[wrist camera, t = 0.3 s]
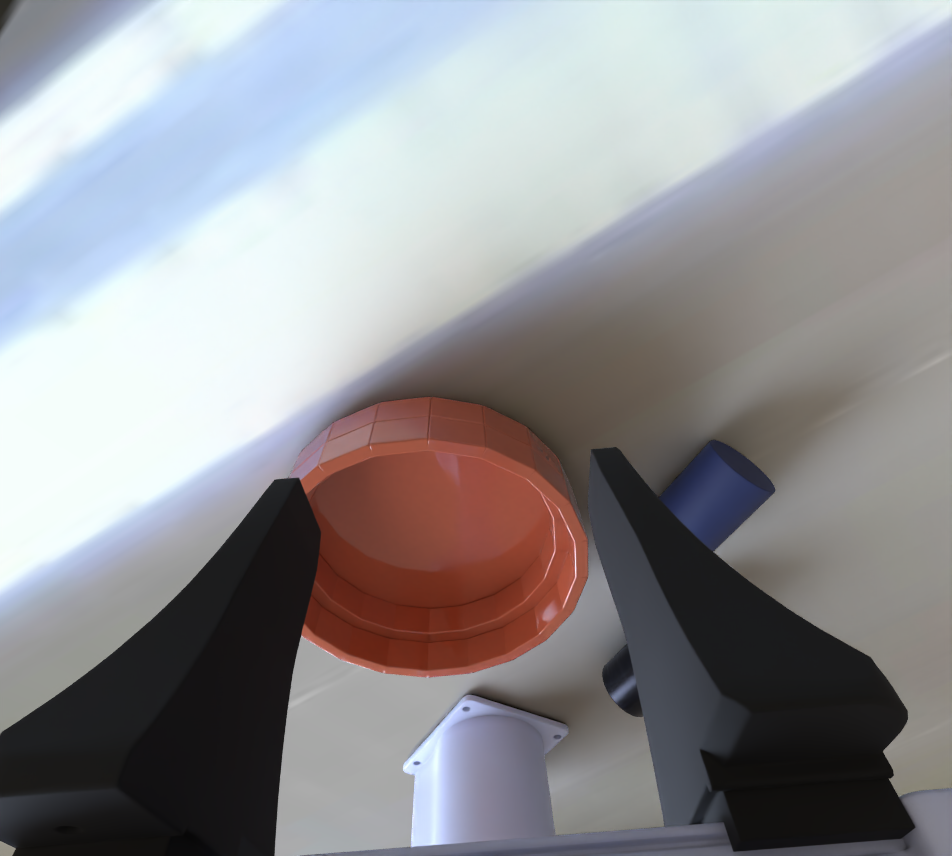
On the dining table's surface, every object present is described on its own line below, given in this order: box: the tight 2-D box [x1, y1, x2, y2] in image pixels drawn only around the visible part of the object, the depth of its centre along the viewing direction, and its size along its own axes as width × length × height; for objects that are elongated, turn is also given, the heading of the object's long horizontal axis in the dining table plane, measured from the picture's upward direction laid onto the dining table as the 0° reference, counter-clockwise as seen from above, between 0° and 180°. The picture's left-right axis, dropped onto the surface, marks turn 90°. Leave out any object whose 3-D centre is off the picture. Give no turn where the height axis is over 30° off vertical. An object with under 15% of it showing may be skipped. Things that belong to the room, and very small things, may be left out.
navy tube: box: [659, 440, 775, 551], centre depth 26 cm, size 7×3×3 cm, turn 150°
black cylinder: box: [602, 644, 643, 717], centre depth 31 cm, size 7×3×3 cm, turn 150°
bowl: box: [288, 397, 588, 677], centre depth 26 cm, size 14×14×4 cm
